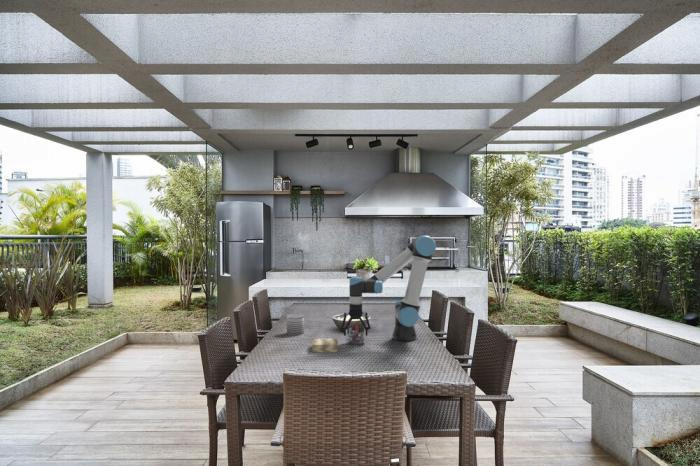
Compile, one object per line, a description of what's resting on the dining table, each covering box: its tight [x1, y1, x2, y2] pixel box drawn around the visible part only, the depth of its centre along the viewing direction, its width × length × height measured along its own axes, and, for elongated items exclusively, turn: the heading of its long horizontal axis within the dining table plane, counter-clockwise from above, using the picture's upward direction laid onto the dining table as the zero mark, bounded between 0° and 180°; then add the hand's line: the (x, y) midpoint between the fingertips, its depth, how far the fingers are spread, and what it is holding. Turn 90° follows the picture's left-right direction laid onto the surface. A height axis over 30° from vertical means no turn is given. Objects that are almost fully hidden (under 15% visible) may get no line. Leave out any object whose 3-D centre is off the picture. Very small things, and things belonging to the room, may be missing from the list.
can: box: [286, 313, 305, 336], centre depth 310 cm, size 11×11×12 cm
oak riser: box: [311, 338, 339, 353], centre depth 268 cm, size 14×15×4 cm
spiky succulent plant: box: [347, 323, 364, 345], centre depth 283 cm, size 11×11×12 cm
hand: (355, 341), depth 282 cm, fingers closed on spiky succulent plant, 10 cm apart
